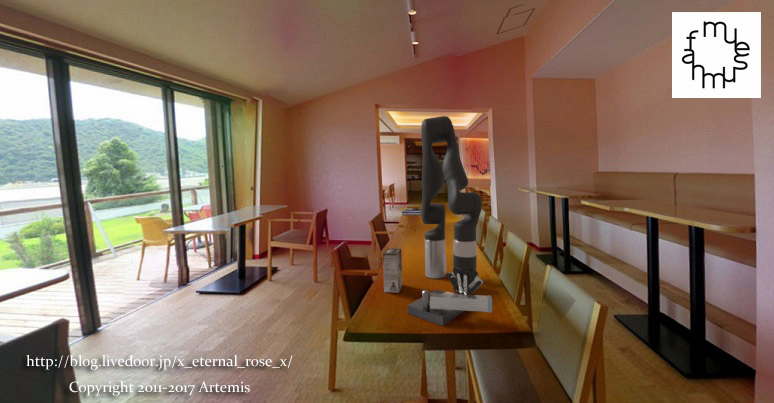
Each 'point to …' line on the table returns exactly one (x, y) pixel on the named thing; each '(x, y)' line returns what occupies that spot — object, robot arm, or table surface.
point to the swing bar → (461, 302)
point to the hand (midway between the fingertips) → (464, 303)
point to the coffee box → (392, 270)
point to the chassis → (433, 315)
